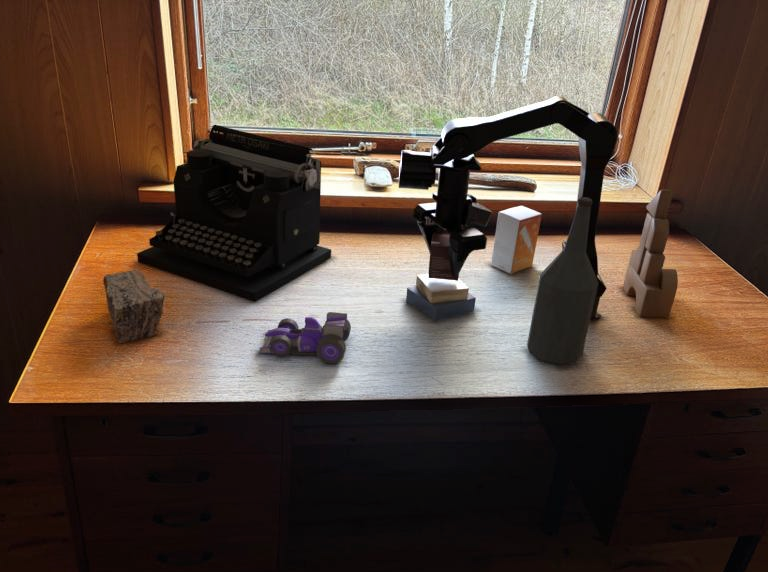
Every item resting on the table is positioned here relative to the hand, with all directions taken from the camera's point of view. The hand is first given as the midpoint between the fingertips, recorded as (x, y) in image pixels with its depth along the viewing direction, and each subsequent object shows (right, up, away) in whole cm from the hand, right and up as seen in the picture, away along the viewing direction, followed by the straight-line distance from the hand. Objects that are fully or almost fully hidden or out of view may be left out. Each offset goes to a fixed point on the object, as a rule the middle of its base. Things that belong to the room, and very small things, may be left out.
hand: (444, 267), depth 147 cm
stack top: (-1, -5, +3) cm, 6 cm away
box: (0, -1, +1) cm, 2 cm away
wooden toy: (+44, -6, +14) cm, 47 cm away
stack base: (-1, -7, +4) cm, 9 cm away
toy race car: (-26, -16, -14) cm, 33 cm away
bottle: (+20, -17, -8) cm, 28 cm away
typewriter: (-45, +3, +16) cm, 48 cm away
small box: (+16, +3, +25) cm, 30 cm away
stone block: (-57, -12, -12) cm, 59 cm away
